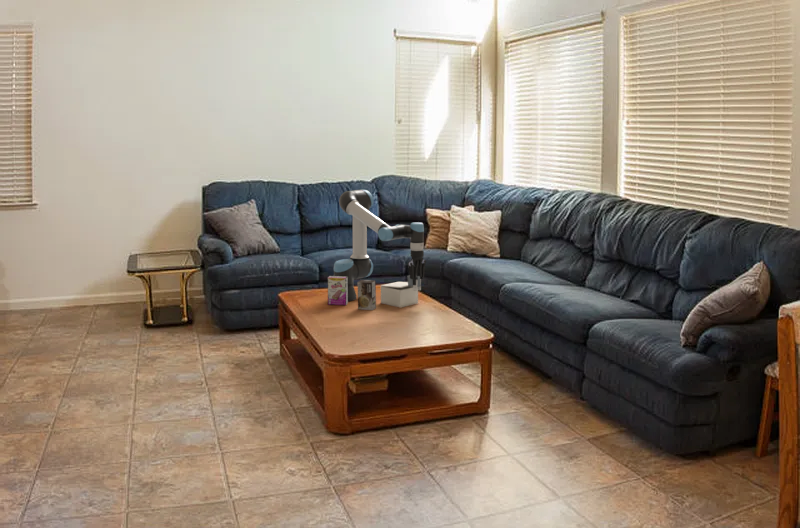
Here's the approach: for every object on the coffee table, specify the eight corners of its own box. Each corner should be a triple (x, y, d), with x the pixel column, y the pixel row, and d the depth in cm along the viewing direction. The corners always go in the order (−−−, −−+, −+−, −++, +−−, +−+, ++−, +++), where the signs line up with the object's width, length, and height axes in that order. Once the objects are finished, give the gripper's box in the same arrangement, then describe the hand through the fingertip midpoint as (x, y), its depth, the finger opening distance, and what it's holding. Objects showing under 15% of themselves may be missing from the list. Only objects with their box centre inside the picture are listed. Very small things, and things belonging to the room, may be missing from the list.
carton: (380, 303, 457) (380, 286, 455) (398, 298, 468) (398, 282, 466) (400, 307, 446) (400, 290, 444) (418, 303, 457) (418, 286, 455)
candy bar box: (327, 305, 452) (327, 277, 449) (329, 303, 457) (328, 275, 454) (346, 305, 451) (346, 277, 448) (348, 303, 456) (347, 276, 453)
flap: (380, 286, 455) (380, 276, 454) (398, 282, 466) (397, 272, 465) (410, 288, 438) (409, 278, 438) (428, 284, 449) (427, 274, 448)
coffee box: (376, 307, 445) (376, 280, 442) (372, 310, 439) (372, 282, 436) (361, 306, 448) (361, 279, 445) (357, 309, 442) (357, 281, 439)
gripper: (412, 252, 433) (412, 293, 438) (430, 248, 444) (430, 289, 448) (403, 250, 438) (403, 291, 443) (421, 247, 449) (421, 287, 453)
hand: (417, 290), depth 445 cm, fingers closed on flap, 2 cm apart
